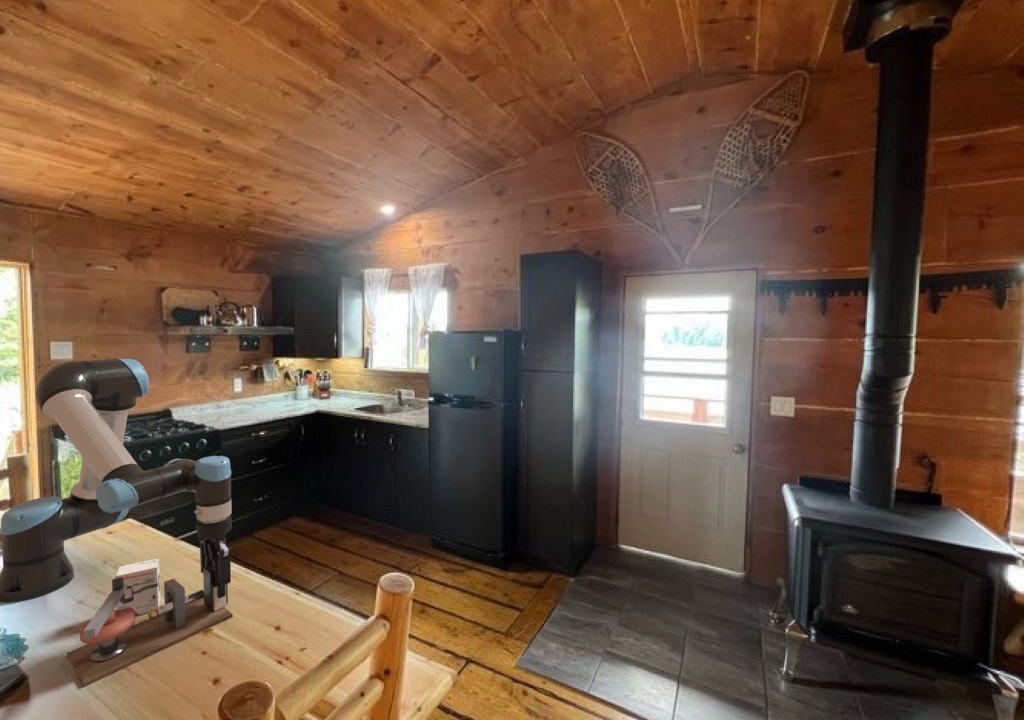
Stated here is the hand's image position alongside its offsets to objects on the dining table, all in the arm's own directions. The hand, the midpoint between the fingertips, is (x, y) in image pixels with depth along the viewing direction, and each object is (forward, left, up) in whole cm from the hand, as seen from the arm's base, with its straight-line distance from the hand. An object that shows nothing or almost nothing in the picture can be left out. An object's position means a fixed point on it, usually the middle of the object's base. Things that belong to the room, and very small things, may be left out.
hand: (216, 604), depth 118 cm
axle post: (0, -22, -1) cm, 22 cm away
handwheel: (0, -22, +5) cm, 22 cm away
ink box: (-14, -12, -1) cm, 19 cm away
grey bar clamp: (0, -6, 0) cm, 6 cm away
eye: (0, -9, -1) cm, 9 cm away
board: (0, -13, -1) cm, 13 cm away
